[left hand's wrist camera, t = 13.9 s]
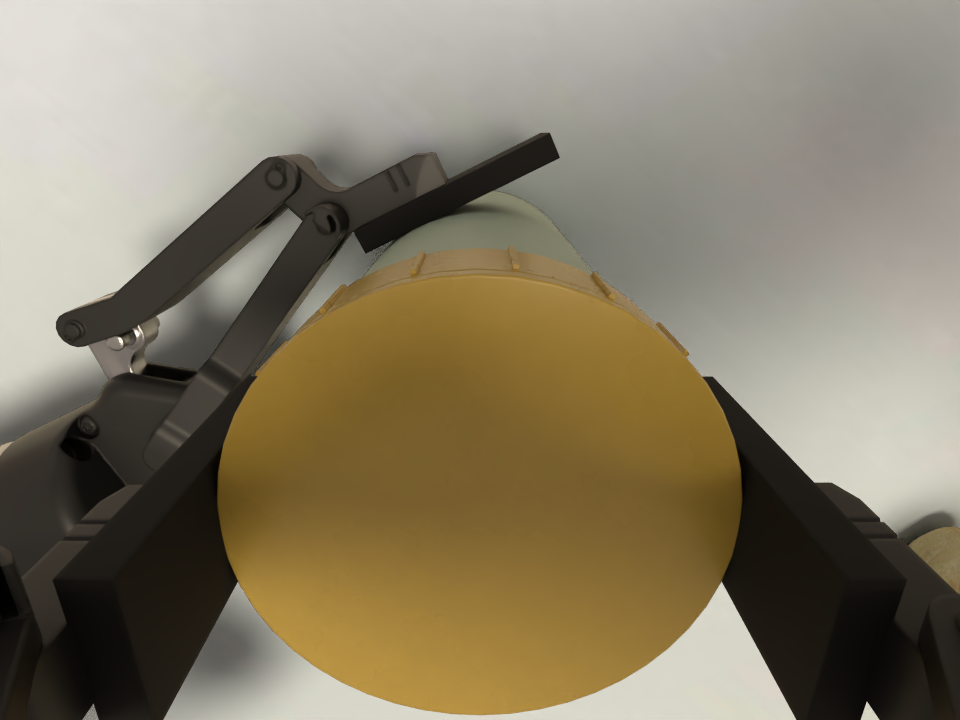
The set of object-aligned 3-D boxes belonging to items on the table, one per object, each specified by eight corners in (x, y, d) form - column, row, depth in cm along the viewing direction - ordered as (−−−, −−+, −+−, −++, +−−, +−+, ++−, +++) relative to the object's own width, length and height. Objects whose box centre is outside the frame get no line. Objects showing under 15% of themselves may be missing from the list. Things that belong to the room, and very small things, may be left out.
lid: (261, 614, 14) (224, 697, 12) (255, 213, 10) (201, 232, 8) (644, 650, 14) (671, 737, 12) (757, 275, 11) (820, 307, 9)
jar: (348, 250, 26) (146, 427, 10) (521, 151, 24) (594, 182, 9) (444, 403, 29) (402, 730, 13) (605, 323, 27) (776, 582, 11)
